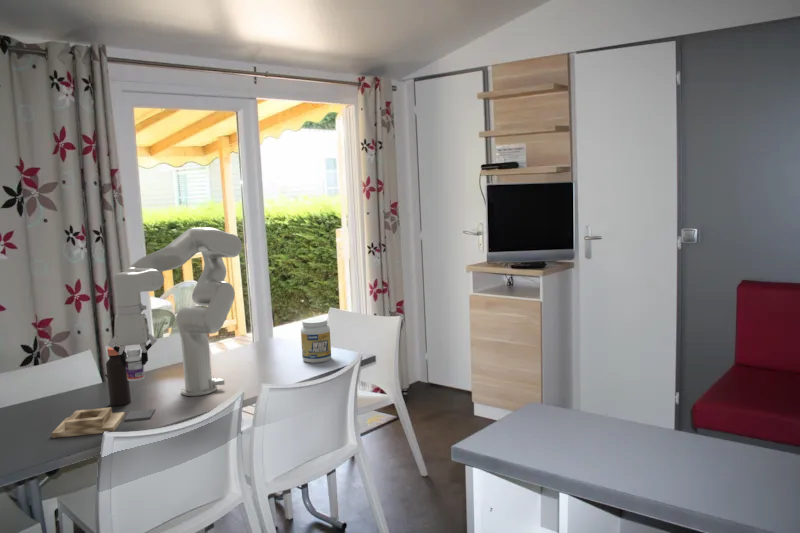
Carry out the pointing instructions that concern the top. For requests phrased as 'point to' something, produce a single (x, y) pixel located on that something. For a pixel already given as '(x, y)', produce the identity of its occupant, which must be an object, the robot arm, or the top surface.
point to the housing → (89, 422)
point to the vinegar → (117, 380)
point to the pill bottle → (134, 365)
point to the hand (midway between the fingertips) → (134, 364)
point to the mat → (139, 415)
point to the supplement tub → (315, 340)
